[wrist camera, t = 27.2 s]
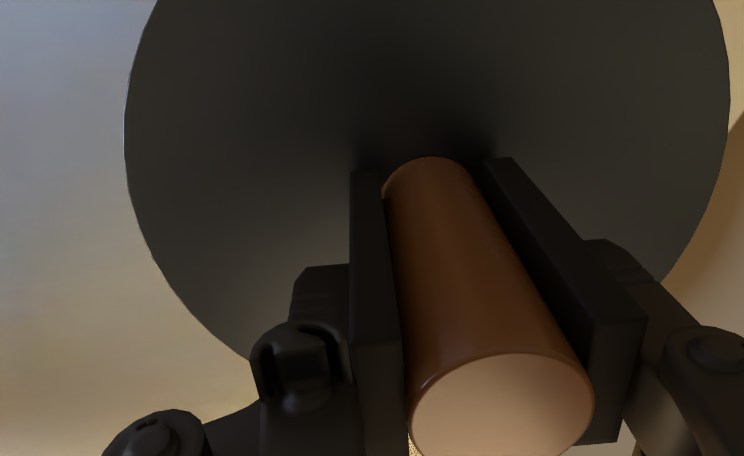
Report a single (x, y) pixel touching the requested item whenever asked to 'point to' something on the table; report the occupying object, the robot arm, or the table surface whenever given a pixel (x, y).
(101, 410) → the table surface
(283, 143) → the lid
